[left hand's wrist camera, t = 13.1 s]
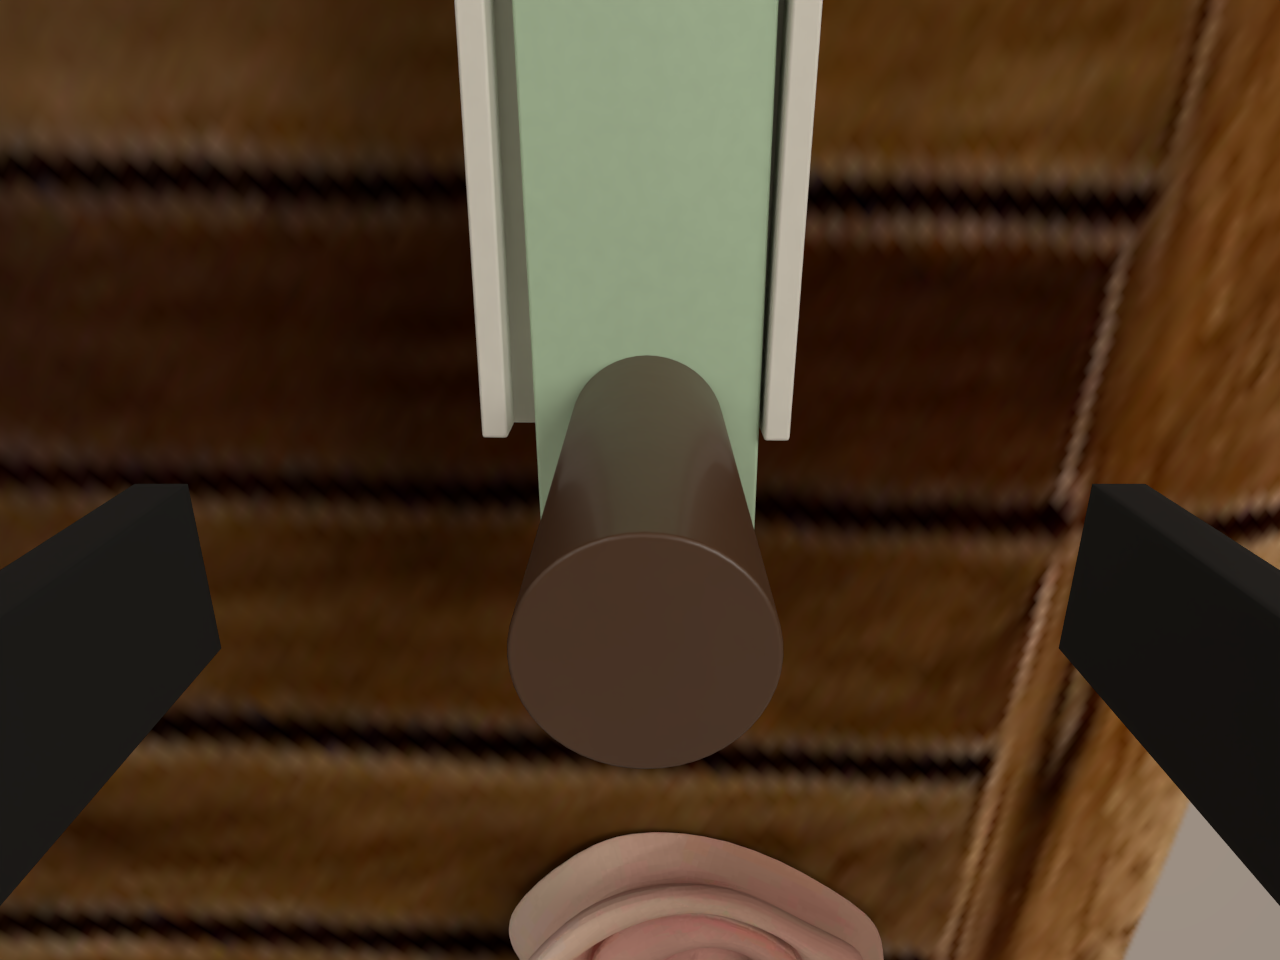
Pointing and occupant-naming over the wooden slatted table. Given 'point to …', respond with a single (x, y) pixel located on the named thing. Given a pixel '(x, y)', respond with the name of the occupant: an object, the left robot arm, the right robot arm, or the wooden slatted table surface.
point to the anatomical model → (686, 907)
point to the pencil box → (502, 214)
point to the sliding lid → (646, 373)
